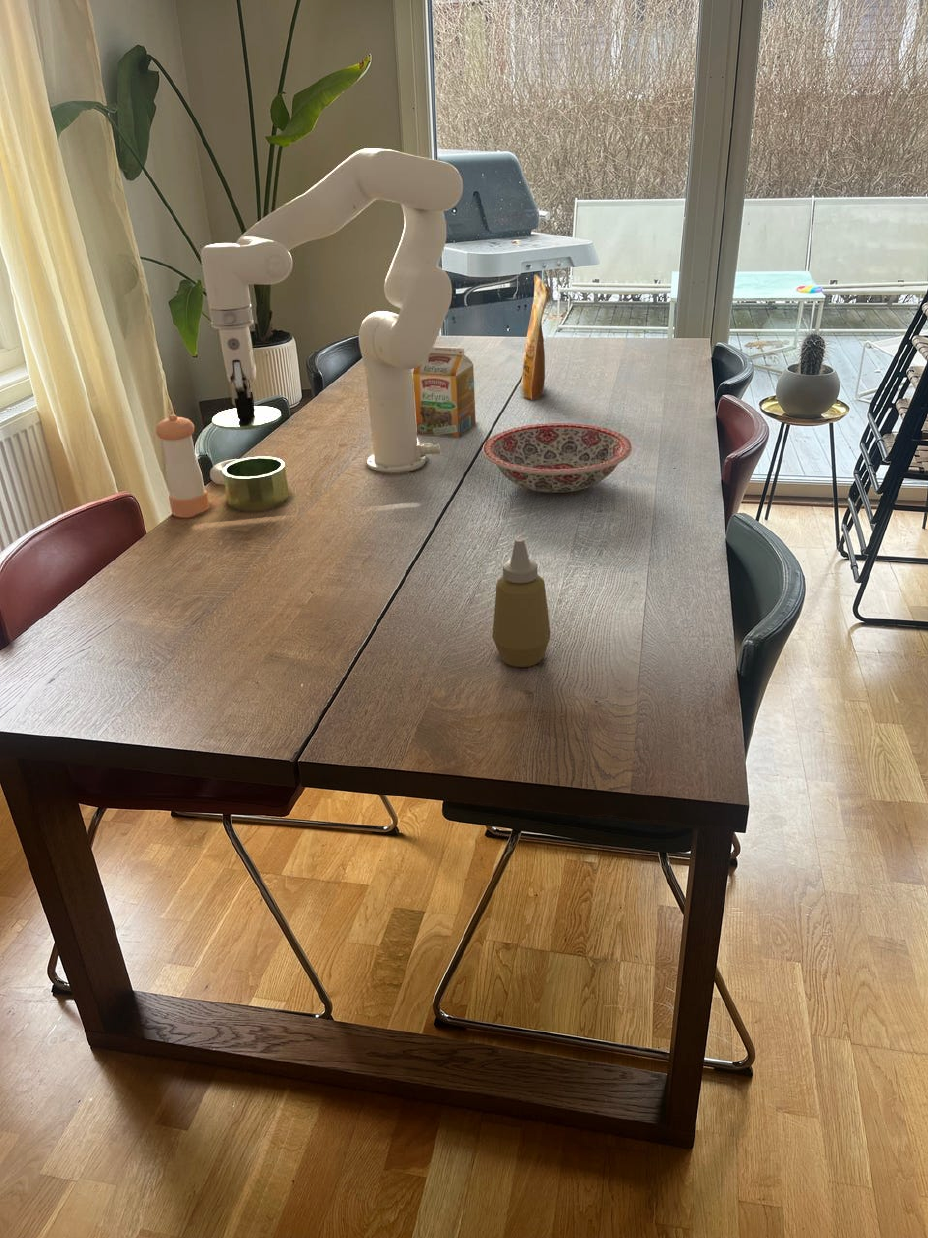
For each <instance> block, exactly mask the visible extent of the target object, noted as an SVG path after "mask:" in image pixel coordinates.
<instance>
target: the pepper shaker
mask: <svg viewBox="0 0 928 1238" xmlns="http://www.w3.org/2000/svg"><path fill="white" fill-rule="evenodd" d="M194 433H195V424H194V423H193V421H191V420H190V419H189V418H187V417H183V416H177V414H169V415H168V417H167V418H164V419H162V420H161V421H159V422H158V423H157V425H156V428H155V434H156V435H157V437H158V438H159V439H160V440H161V441H162V447H163V451H164V456H165V462H166V463H165V465H166V483H167V486H168V490H169V495H168V501H169V505H170V510H171V514H172V515H173V516H174V517H176V518H181V519H182V518H185V519H186V518H194V517H195V515H197V514H201V513H203V512H205V511H207V510H208V509H209V508H210V500H209V495H208V491H207V489H205V485H204V477H203V473H202V470H201V466H200V464H199V461H198V459H197V455H196V451H195V446H194V441H193V434H194ZM174 513H175V514H174Z"/></svg>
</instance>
